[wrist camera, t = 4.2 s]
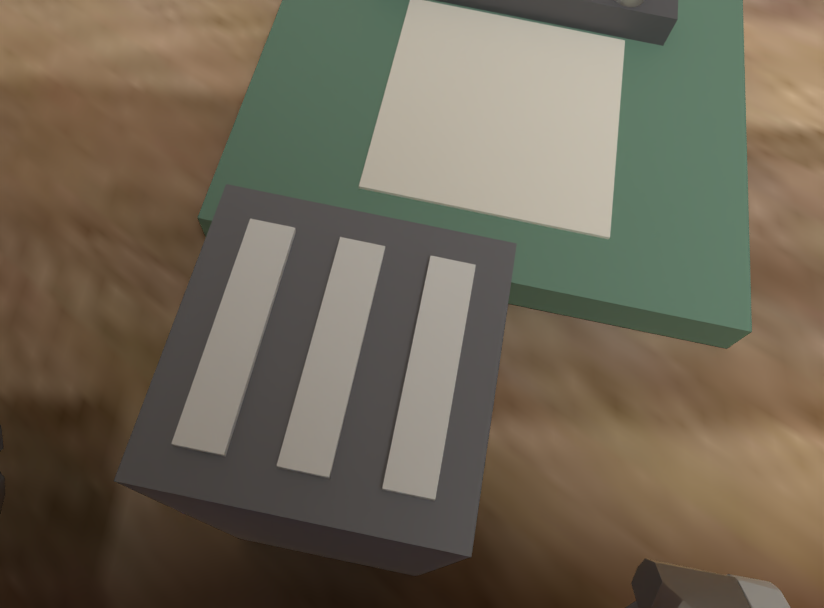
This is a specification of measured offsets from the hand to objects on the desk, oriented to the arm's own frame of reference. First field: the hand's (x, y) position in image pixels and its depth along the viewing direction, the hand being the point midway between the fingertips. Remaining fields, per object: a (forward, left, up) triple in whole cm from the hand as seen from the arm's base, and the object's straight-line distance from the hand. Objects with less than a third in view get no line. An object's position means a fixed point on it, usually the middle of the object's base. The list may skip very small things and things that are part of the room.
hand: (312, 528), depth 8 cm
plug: (0, +2, -7) cm, 7 cm away
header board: (+2, +13, -7) cm, 15 cm away
